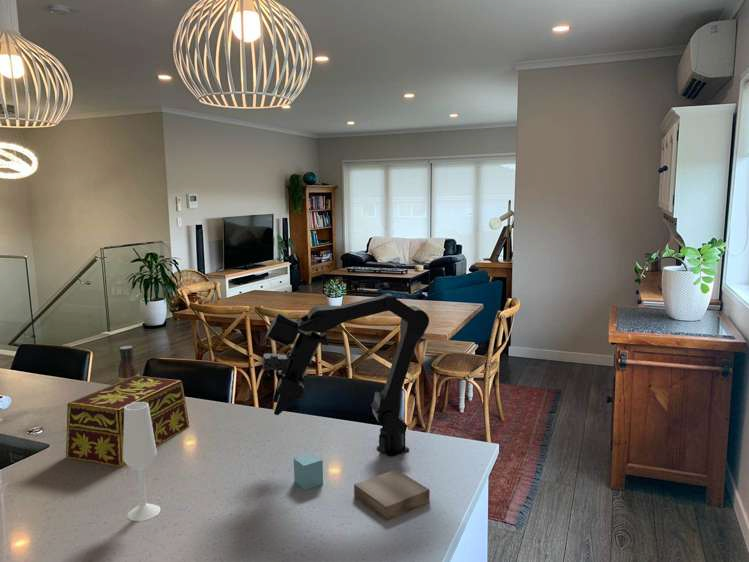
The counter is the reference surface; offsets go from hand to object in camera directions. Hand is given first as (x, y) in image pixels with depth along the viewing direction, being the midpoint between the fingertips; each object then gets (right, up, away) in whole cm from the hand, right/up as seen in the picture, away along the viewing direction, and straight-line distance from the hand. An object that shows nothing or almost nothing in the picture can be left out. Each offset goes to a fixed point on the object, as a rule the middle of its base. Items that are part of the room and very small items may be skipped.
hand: (275, 408), depth 143 cm
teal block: (+10, -16, -9) cm, 20 cm away
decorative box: (-43, -13, +16) cm, 48 cm away
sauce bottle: (-56, -9, +45) cm, 72 cm away
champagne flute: (-25, -18, -21) cm, 37 cm away
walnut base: (+29, -17, -17) cm, 37 cm away
